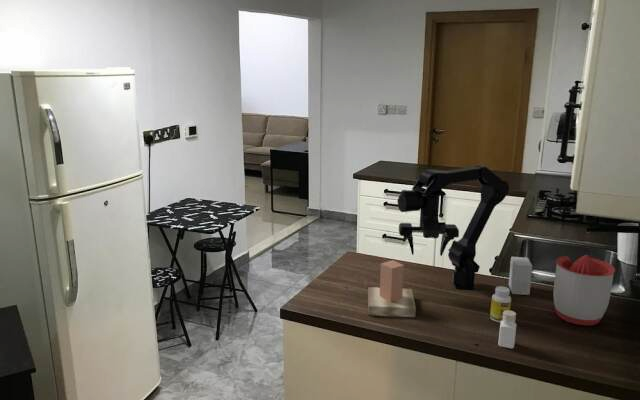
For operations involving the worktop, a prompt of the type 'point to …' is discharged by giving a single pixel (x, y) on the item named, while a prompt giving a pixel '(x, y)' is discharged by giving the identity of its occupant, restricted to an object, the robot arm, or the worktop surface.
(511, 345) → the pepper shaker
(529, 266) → the small box
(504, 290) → the supplement bottle
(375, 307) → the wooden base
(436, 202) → the robot arm
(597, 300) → the citrus juicer
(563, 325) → the worktop surface
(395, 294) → the terracotta block
